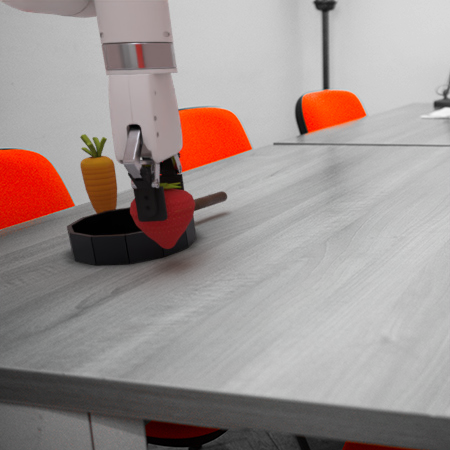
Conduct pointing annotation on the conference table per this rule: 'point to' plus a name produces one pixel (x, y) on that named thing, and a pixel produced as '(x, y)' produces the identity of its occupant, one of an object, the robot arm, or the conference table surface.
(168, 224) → the strawberry
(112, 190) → the carrot
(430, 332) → the conference table surface
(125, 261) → the pan
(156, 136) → the robot arm
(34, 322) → the conference table surface
